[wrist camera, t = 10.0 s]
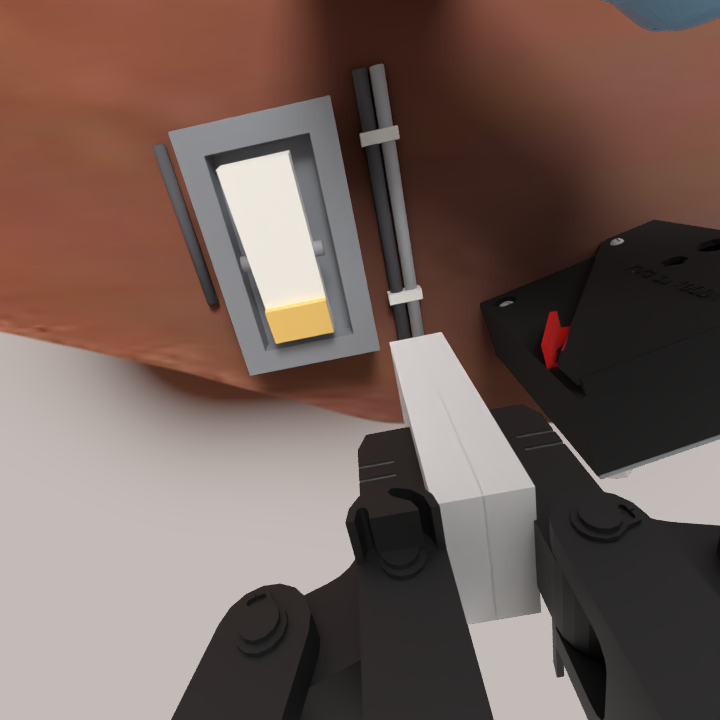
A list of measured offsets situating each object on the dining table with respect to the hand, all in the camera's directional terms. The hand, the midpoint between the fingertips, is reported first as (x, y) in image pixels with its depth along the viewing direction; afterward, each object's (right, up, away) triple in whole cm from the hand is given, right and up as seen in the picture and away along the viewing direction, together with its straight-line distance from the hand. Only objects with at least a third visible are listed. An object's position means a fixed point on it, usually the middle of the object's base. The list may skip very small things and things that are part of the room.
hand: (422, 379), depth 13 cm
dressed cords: (+1, +13, +27) cm, 31 cm away
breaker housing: (-8, +12, +28) cm, 31 cm away
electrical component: (+20, +7, +31) cm, 37 cm away
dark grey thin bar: (-18, +13, +27) cm, 35 cm away
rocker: (-8, +9, +21) cm, 24 cm away
